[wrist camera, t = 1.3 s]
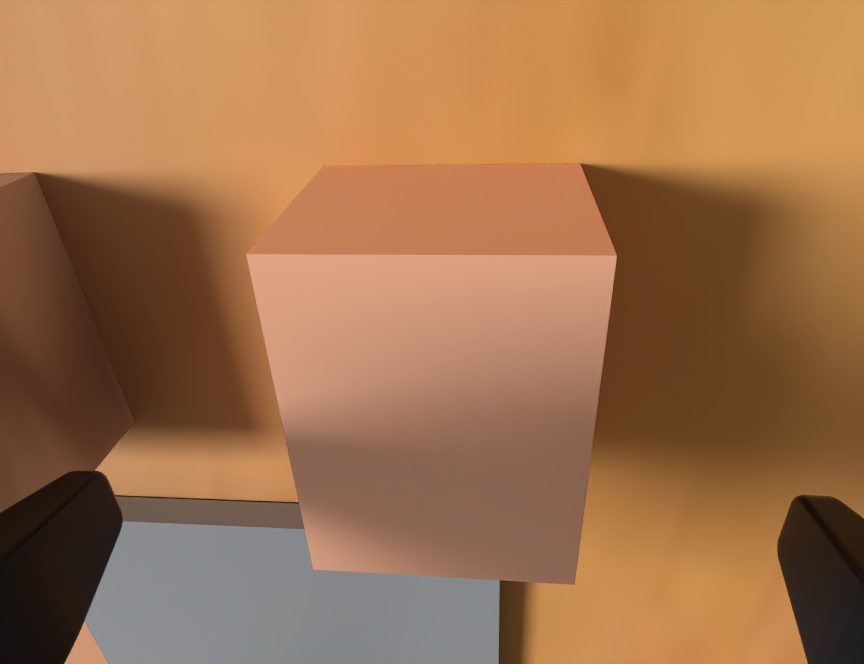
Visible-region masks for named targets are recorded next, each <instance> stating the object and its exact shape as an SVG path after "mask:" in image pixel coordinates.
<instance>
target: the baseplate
mask: <svg viewBox="0 0 864 664" xmlns="http://www.w3.org/2000/svg"><path fill="white" fill-rule="evenodd" d="M115 497H116V499H117V501H118V504H119V506H120V508H121V511H122V515H123V523H122V528H121V532H120V534H119V537H118V539H117V542H116V544H115V547H114V549H113V552H112V554H111V557H110V559H109V562H108V564H107V566H106V569H105V571H104V574H103V576H102V579H101V581H100V584H99V586H98V589H97V591H96V594H95V596H94V599H93V601H92V604H91V606H90V609H89V611H88V614H87V616H86V619H85V623H86V625H87V627H88V628H89V630H90V632H91V634H92V636H93V637H94V639H95V641H96V643H97V644H98V646H99V648H100V650H101V651H102V653H103V655H104V657H105V659H106V660H107V662H108V664H499V588H500V580H485V579H468V578H451V577H433V576H416V575H399V574H382V573H365V572H347V571H330V570H313V566H312V561H311V556H310V552H309V547H308V542H307V538H306V533H305V528H304V524H303V519H302V514H301V510H300V505H299V504H296V503H270V502H245V501H219V500H194V499H168V498H143V497H118V496H115Z"/></svg>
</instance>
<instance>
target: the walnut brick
mask: <svg viewBox="0 0 864 664" xmlns="http://www.w3.org/2000/svg"><path fill="white" fill-rule="evenodd" d="M133 422H134V418H133V416H132V413H131V411H130V408H129V406H128V403H127V401H126V398H125V396H124V393H123V391H122V388H121V386H120V384H119V381H118V379H117V376H116V374H115V371H114V369H113V366H112V364H111V361H110V359H109V356H108V354H107V351H106V349H105V346H104V344H103V341H102V339H101V336H100V334H99V331H98V329H97V326H96V324H95V321H94V319H93V316H92V314H91V311H90V309H89V306H88V304H87V301H86V299H85V296H84V294H83V291H82V289H81V286H80V284H79V281H78V279H77V277H76V274H75V272H74V269H73V267H72V264H71V262H70V259H69V257H68V254H67V252H66V249H65V247H64V244H63V242H62V239H61V237H60V234H59V232H58V229H57V227H56V224H55V222H54V219H53V217H52V214H51V212H50V209H49V207H48V204H47V202H46V199H45V197H44V194H43V192H42V189H41V187H40V184H39V182H38V179H37V177H36V174H35V172H29V173H2V174H0V512H2V511H4V510H5V509H7V508H9V507H10V506H12V505H14V504H15V503H17V502H19V501H20V500H22V499H24V498H25V497H27V496H29V495H31V494H32V493H34V492H36V491H37V490H39V489H41V488H42V487H44V486H46V485H47V484H49V483H51V482H52V481H54V480H56V479H57V478H59V477H61V476H62V475H64V474H66V473H68V472H71V471H76V470H78V471H95V470H96V468H97V467H98V466H99V465H100V463H101V462H102V461H103V460H104V458H105V457H106V456H107V455H108V453H109V452H110V451H111V450H112V448H113V447H114V446H115V445H116V443H117V442H118V441H119V440H120V439H121V437H122V436H123V435H124V434H125V432H126V431H127V430H128V429H129V427H130V426H131V425H132V424H133Z"/></svg>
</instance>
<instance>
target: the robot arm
mask: <svg viewBox="0 0 864 664" xmlns="http://www.w3.org/2000/svg"><path fill="white" fill-rule="evenodd" d="M122 523H123V515H122V511H121V508H120V506H119V504H118V501H117V499H116V497H115V495H114V492H113V490H112V488H111V486H110V483H109V481H108V479H107V477H106V476H105V475H104V474H103V473H102V472H98V471H78V470H76V471H71V472H68V473H66V474H64V475H62V476H61V477H59V478H57V479H56V480H54V481H52V482H51V483H49V484H47V485H46V486H44V487H42V488H41V489H39V490H37V491H36V492H34V493H32V494H31V495H29V496H27V497H25V498H24V499H22V500H20V501H19V502H17V503H15V504H14V505H12V506H10V507H9V508H7V509H5V510H4V511H2V512H0V664H64V663H65V661H66V659H67V657H68V655H69V653H70V651H71V649H72V647H73V645H74V643H75V641H76V639H77V637H78V635H79V632H80V630H81V628H82V625H83V623H84V621H85V619H86V616H87V614H88V611H89V609H90V606H91V604H92V601H93V599H94V596H95V594H96V591H97V589H98V586H99V584H100V581H101V579H102V576H103V574H104V571H105V569H106V566H107V564H108V562H109V559H110V557H111V554H112V552H113V549H114V547H115V544H116V542H117V539H118V537H119V534H120V532H121V528H122ZM777 551H778V559H779V563H780V566H781V570H782V573H783V577H784V580H785V584H786V588H787V591H788V595H789V598H790V602H791V605H792V609H793V612H794V616H795V620H796V623H797V627H798V630H799V634H800V637H801V641H802V644H803V648H804V652H805V655H806V659H807V662H808V664H864V518H862V517H861V516H860V515H858V514H857V513H856V512H854V511H853V510H852V509H850V508H849V507H848V506H846V505H845V504H844V503H842V502H841V501H839V500H838V499H836V498H834V497H830V496H812V495H800V496H797V497H796V498H795V499H793V501H792V503H791V505H790V508H789V511H788V513H787V516H786V519H785V522H784V525H783V527H782V530H781V533H780V536H779V539H778V545H777Z"/></svg>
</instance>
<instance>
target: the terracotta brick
mask: <svg viewBox="0 0 864 664" xmlns="http://www.w3.org/2000/svg"><path fill="white" fill-rule="evenodd" d="M246 256H247V261H248V266H249V270H250V275H251V280H252V284H253V289H254V294H255V299H256V303H257V308H258V313H259V317H260V322H261V327H262V331H263V336H264V341H265V345H266V350H267V355H268V359H269V364H270V369H271V374H272V378H273V383H274V388H275V392H276V397H277V402H278V406H279V411H280V416H281V420H282V425H283V430H284V435H285V439H286V444H287V449H288V453H289V458H290V463H291V467H292V472H293V477H294V481H295V486H296V491H297V495H298V500H299V505H300V510H301V514H302V519H303V524H304V528H305V533H306V538H307V542H308V547H309V552H310V556H311V561H312V566H313V570H330V571H347V572H365V573H382V574H399V575H416V576H433V577H451V578H468V579H485V580H502V581H520V582H537V583H554V584H571V585H575V577H576V569H577V561H578V554H579V546H580V538H581V531H582V523H583V515H584V507H585V500H586V492H587V484H588V476H589V469H590V461H591V453H592V445H593V438H594V430H595V422H596V414H597V407H598V399H599V391H600V383H601V376H602V368H603V360H604V352H605V345H606V337H607V329H608V322H609V314H610V306H611V298H612V291H613V283H614V275H615V267H616V260H617V254H616V252H615V249H614V247H613V244H612V242H611V239H610V237H609V234H608V232H607V229H606V227H605V224H604V222H603V219H602V217H601V214H600V212H599V209H598V207H597V204H596V202H595V199H594V197H593V194H592V192H591V189H590V187H589V184H588V182H587V179H586V177H585V174H584V172H583V169H582V167H581V164H580V163H563V164H474V165H384V166H323V167H322V168H321V169H320V170H319V171H318V173H317V174H316V175H315V176H314V177H313V178H312V179H311V181H310V182H309V183H308V184H307V185H306V186H305V187H304V189H303V190H302V191H301V192H300V193H299V194H298V195H297V197H296V198H295V199H294V200H293V201H292V202H291V203H290V205H289V206H288V207H287V208H286V209H285V210H284V211H283V213H282V214H281V215H280V216H279V217H278V218H277V219H276V221H275V222H274V223H273V224H272V225H271V226H270V227H269V229H268V230H267V231H266V232H265V233H264V234H263V235H262V237H261V238H260V239H259V240H258V241H257V242H256V243H255V245H254V246H253V247H252V248H251V249H250V250H249V251H248V253H247V254H246Z"/></svg>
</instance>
